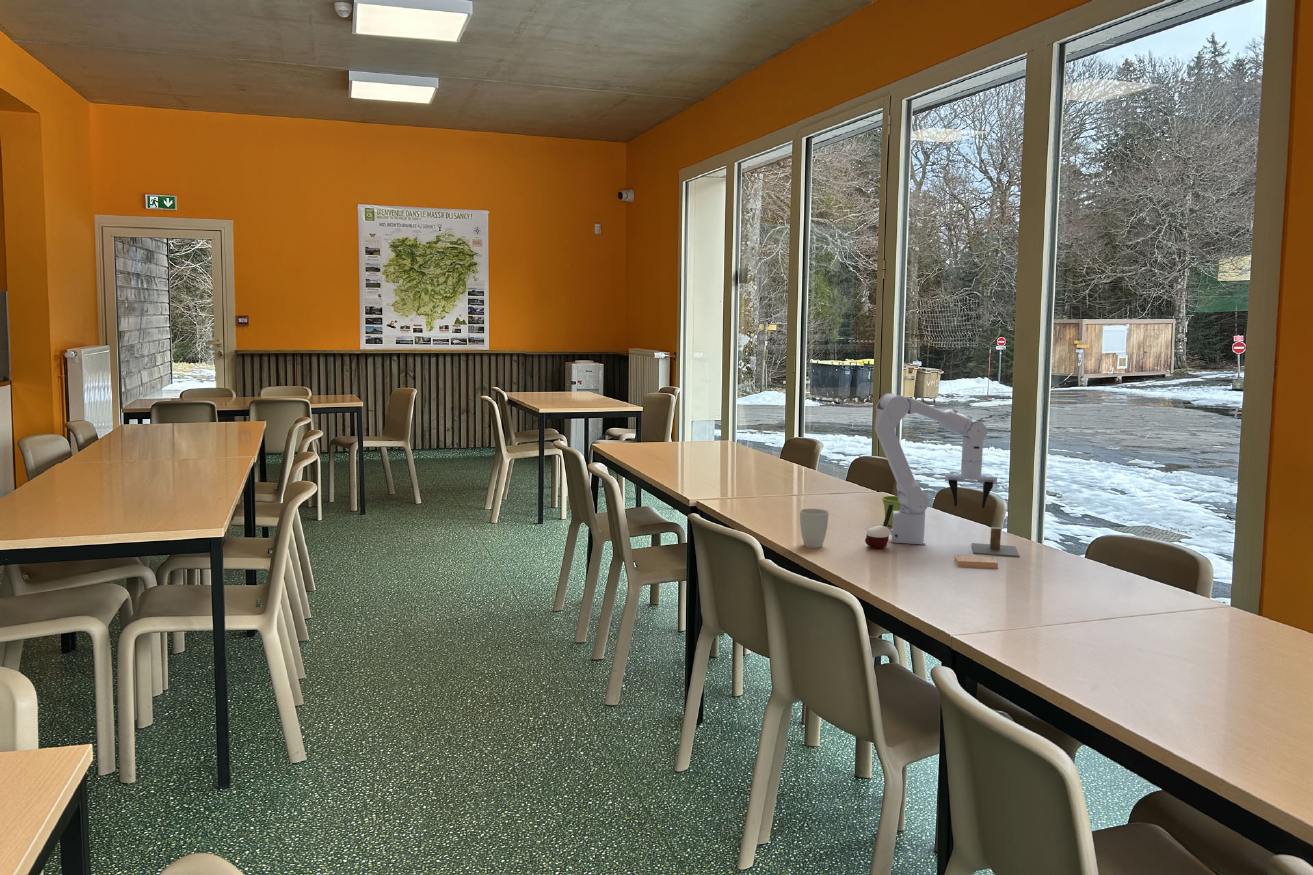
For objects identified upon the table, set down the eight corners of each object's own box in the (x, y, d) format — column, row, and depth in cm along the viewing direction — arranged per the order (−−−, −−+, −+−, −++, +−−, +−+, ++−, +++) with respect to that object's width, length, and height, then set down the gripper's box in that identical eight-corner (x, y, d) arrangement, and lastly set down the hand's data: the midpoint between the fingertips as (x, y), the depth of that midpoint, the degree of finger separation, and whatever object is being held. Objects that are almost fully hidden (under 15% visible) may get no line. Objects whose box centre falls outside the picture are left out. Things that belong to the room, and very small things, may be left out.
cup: (826, 542, 275) (827, 509, 274) (828, 549, 267) (829, 514, 266) (798, 541, 276) (799, 508, 275) (799, 548, 268) (800, 513, 267)
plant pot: (908, 522, 305) (909, 496, 304) (913, 528, 296) (914, 501, 295) (878, 521, 306) (879, 495, 305) (882, 527, 297) (883, 500, 296)
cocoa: (866, 551, 267) (867, 510, 265) (859, 545, 273) (859, 505, 271) (899, 549, 268) (899, 508, 266) (890, 543, 274) (891, 503, 272)
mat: (973, 553, 264) (973, 552, 264) (971, 544, 276) (971, 542, 276) (1019, 557, 261) (1019, 555, 261) (1015, 547, 273) (1015, 546, 273)
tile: (954, 563, 256) (958, 568, 250) (954, 555, 256) (958, 561, 250) (992, 564, 255) (997, 570, 249) (993, 557, 254) (997, 562, 249)
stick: (990, 549, 268) (991, 528, 268) (989, 547, 271) (991, 526, 270) (999, 549, 268) (1001, 529, 267) (999, 547, 270) (1000, 527, 269)
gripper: (946, 461, 275) (943, 507, 277) (999, 464, 271) (996, 510, 273) (945, 458, 282) (943, 502, 284) (997, 460, 278) (994, 506, 280)
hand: (969, 506), depth 279 cm, fingers open, 7 cm apart
